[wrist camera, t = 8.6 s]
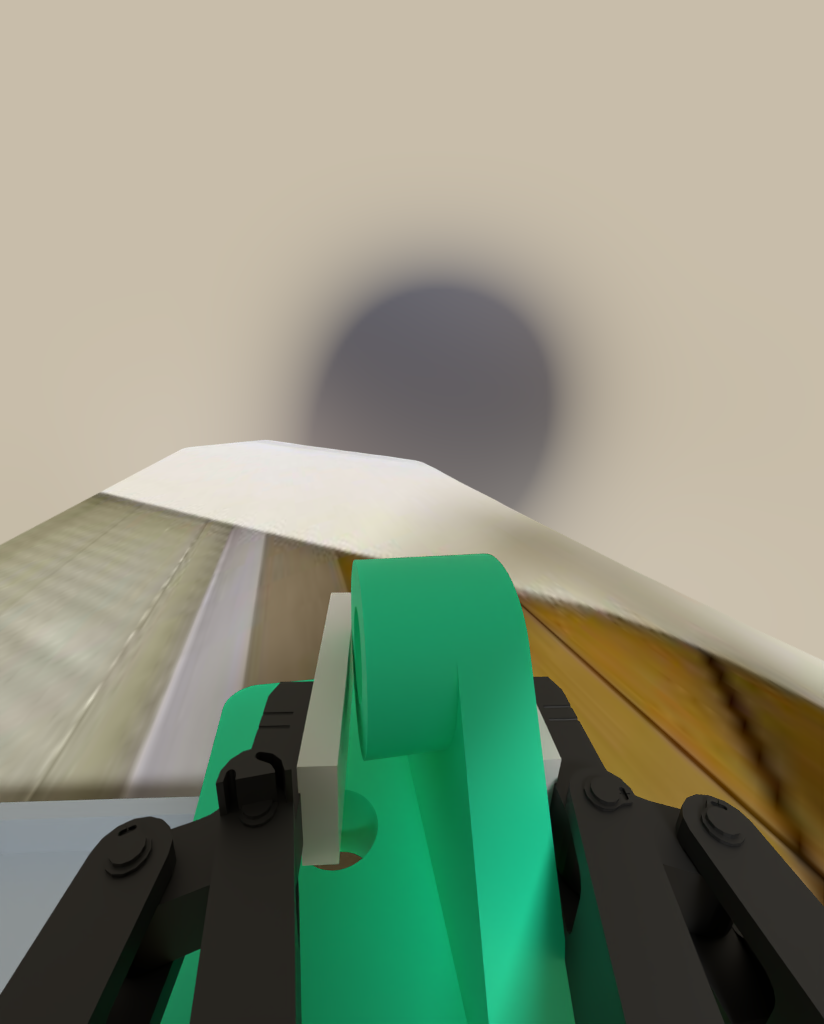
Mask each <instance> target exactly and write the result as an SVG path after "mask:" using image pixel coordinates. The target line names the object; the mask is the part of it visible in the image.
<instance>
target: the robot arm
mask: <svg viewBox="0 0 824 1024" xmlns="http://www.w3.org/2000/svg"><path fill="white" fill-rule="evenodd" d="M353 678H354V674H353V655H352V627H351V593H331V597H330V602H329V607H328V612H327V617H326V622H325V627H324V632H323V637H322V642H321V647H320V652H319V658H318V663H317V668H316V673H315V678H314V681H303V682H280V683H279V685H278V686H277V687H276V688H275V689H274V690H273V691H272V692H271V694H270V695H269V696H268V699H267V702H266V705H265V708H264V711H263V716H262V717H261V720H260V723H259V729H258V730H257V733H256V736H255V739H254V742H253V745H252V748H251V749H249V750H246V751H243V752H241V753H240V754H238V755H237V756H235V757H233V758H232V759H230V760H229V762H228V763H227V764H226V765H225V766H224V767H223V768H222V770H221V771H220V773H219V776H218V778H217V781H216V790H217V797H218V804H219V809H218V810H216V811H215V812H213V813H212V814H210V815H208V816H206V817H203V818H201V819H199V820H196V821H193V822H190V823H187V824H184V825H181V826H178V827H175V828H172V829H171V828H170V826H169V825H168V824H167V823H166V822H165V821H164V820H163V819H160V818H156V817H152V816H148V817H141V818H135V819H133V820H130V821H128V822H126V823H124V824H122V825H119V826H118V827H116V828H115V829H114V830H112V831H111V832H110V833H108V834H107V835H106V836H104V837H103V838H102V839H101V840H100V842H99V843H98V844H97V845H96V846H95V848H94V849H93V850H92V851H91V852H90V854H89V855H88V857H87V859H86V860H85V862H84V863H83V865H82V866H81V868H80V870H79V871H78V873H77V874H76V876H75V877H74V879H73V881H72V882H71V884H70V885H69V887H68V888H67V890H66V892H65V893H64V895H63V896H62V898H61V899H60V901H59V903H58V904H57V906H56V907H55V909H54V910H53V912H52V914H51V915H50V917H49V918H48V920H47V922H46V923H45V925H44V926H43V928H42V929H41V931H40V933H39V934H38V936H37V937H36V939H35V940H34V942H33V944H32V945H31V947H30V948H29V950H28V951H27V953H26V955H25V956H24V958H23V959H22V961H21V962H20V964H19V966H18V967H17V969H16V970H15V972H14V973H13V975H12V977H11V978H10V980H9V981H8V983H7V984H6V986H5V988H4V989H3V991H2V992H1V994H0V1024H160V1023H161V1020H162V1017H163V1015H164V1012H165V1009H166V1006H167V1004H168V1001H169V998H170V995H171V993H172V990H173V987H174V985H175V982H176V979H177V976H178V974H179V971H180V968H181V966H182V963H183V960H184V957H185V955H187V954H190V953H192V952H194V951H196V950H199V949H200V956H199V963H198V969H197V976H196V983H195V990H194V997H193V1003H192V1010H191V1017H190V1024H302V1015H301V962H300V910H299V881H298V876H299V869H300V863H301V856H302V866H309V865H330V864H339V858H340V846H341V833H342V820H343V807H344V794H345V781H346V768H347V756H348V743H349V730H350V717H351V704H352V691H353ZM533 680H534V688H535V696H536V705H537V713H538V721H539V729H540V738H541V746H542V754H543V762H544V770H545V779H546V787H547V795H548V803H549V811H550V820H551V828H552V836H553V844H554V853H555V861H556V869H557V877H558V885H559V894H560V902H561V910H562V918H563V926H564V935H565V964H566V971H567V977H568V983H569V989H570V995H571V1001H572V1007H573V1013H574V1019H575V1024H824V906H823V905H822V904H821V903H820V902H819V901H818V899H817V898H816V897H815V896H814V895H813V894H812V892H811V891H810V890H809V889H808V888H807V887H806V885H805V884H804V883H803V882H802V881H801V880H800V878H799V877H798V876H797V875H796V874H795V873H794V871H793V870H792V869H791V868H790V867H789V865H788V864H787V863H786V862H785V861H784V860H783V858H782V857H781V856H780V855H779V854H778V853H777V851H776V850H775V849H774V848H773V847H772V846H771V844H770V843H769V842H768V841H767V840H766V839H765V837H764V836H763V835H762V834H761V833H760V832H759V830H758V829H757V828H756V827H755V826H754V824H753V823H752V822H751V821H750V820H749V819H747V818H746V817H745V816H744V815H743V814H742V813H741V812H740V811H739V810H737V809H736V808H734V807H733V806H731V805H729V804H728V803H726V802H725V801H722V800H720V799H717V798H714V797H712V796H709V795H698V794H696V795H693V796H690V797H688V798H686V800H685V802H684V803H683V805H682V807H681V809H678V808H674V807H670V806H666V805H663V804H659V803H655V802H651V801H648V800H645V799H642V798H640V797H637V796H635V795H634V793H633V792H632V790H631V788H630V787H629V786H628V785H626V784H625V783H624V782H623V781H622V780H621V779H620V778H619V777H617V776H615V775H613V774H612V773H610V772H608V771H607V770H606V769H605V767H604V766H603V764H602V762H601V760H600V758H599V756H598V755H597V753H596V751H595V749H594V747H593V745H592V744H591V742H590V740H589V738H588V736H587V734H586V733H585V731H584V729H583V727H582V725H581V724H580V722H579V721H578V720H577V716H576V714H575V713H574V711H573V709H572V708H571V707H570V703H569V702H568V700H567V698H566V696H565V694H564V693H563V691H562V689H561V688H559V687H558V686H557V685H556V684H555V683H554V682H553V681H552V680H551V679H549V678H548V677H533Z"/></svg>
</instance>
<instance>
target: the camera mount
mask: <svg viewBox="0 0 824 1024" xmlns="http://www.w3.org/2000/svg"><path fill="white" fill-rule="evenodd" d="M351 627H352V655H353V674H354V678H353V691H352V704H351V717H350V730H349V743H348V756H347V768H346V781H345V794H344V807H343V820H342V833H341V846H340V852H350V853H354V854H356V855H358V856H360V857H362V859H361V860H360V861H359V862H357V863H356V864H354V865H352V866H350V867H348V868H345V869H341V870H335V871H329V870H323V869H319V868H316V867H314V865H309V866H302V856H301V863H300V869H299V876H298V881H299V910H300V962H301V1015H302V1024H575V1019H574V1013H573V1007H572V1001H571V995H570V989H569V983H568V977H567V971H566V964H565V935H564V926H563V918H562V910H561V902H560V894H559V885H558V877H557V869H556V861H555V853H554V844H553V836H552V828H551V820H550V811H549V803H548V795H547V787H546V779H545V770H544V762H543V754H542V746H541V738H540V729H539V721H538V713H537V705H536V696H535V688H534V680H533V672H532V664H531V655H530V647H529V640H528V634H527V629H526V624H525V619H524V615H523V611H522V608H521V605H520V601H519V598H518V595H517V593H516V590H515V587H514V585H513V583H512V581H511V579H510V577H509V575H508V573H507V571H506V570H505V568H504V567H503V565H502V564H501V563H500V562H499V561H498V560H497V559H496V558H495V557H494V556H492V555H490V554H467V555H447V556H426V557H406V558H385V559H365V560H354V561H353V566H352V579H351ZM303 681H314V679H312V680H302V681H292V682H303ZM278 685H279V683H272V684H262V685H254V686H250V687H247V688H244V689H242V690H240V691H238V692H237V693H235V694H234V695H232V696H231V697H230V698H229V699H228V700H227V702H226V703H225V705H224V707H223V710H222V714H221V718H220V721H219V725H218V729H217V733H216V736H215V740H214V744H213V748H212V752H211V755H210V759H209V763H208V767H207V770H206V774H205V778H204V782H203V785H202V789H201V793H200V797H199V800H198V804H197V808H196V812H195V816H194V819H193V821H196V820H199V819H201V818H203V817H206V816H208V815H210V814H212V813H213V812H215V811H216V810H218V809H219V804H218V797H217V790H216V781H217V778H218V776H219V773H220V771H221V770H222V768H223V767H224V766H225V765H226V764H227V763H228V762H229V760H230V759H232V758H233V757H235V756H237V755H238V754H240V753H241V752H243V751H246V750H249V749H251V748H252V745H253V742H254V739H255V736H256V733H257V730H258V729H259V723H260V720H261V717H262V716H263V711H264V708H265V705H266V702H267V699H268V696H269V695H270V694H271V692H272V691H273V690H274V689H275V688H276V687H277V686H278ZM199 956H200V949H199V950H196V951H194V952H192V953H190V954H187V955H185V957H184V960H183V963H182V966H181V968H180V971H179V974H178V976H177V979H176V982H175V985H174V987H173V990H172V993H171V995H170V998H169V1001H168V1004H167V1006H166V1009H165V1012H164V1015H163V1017H162V1020H161V1023H160V1024H190V1017H191V1010H192V1003H193V997H194V990H195V983H196V976H197V969H198V963H199Z"/></svg>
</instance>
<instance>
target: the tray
mask: <svg viewBox="0 0 824 1024" xmlns="http://www.w3.org/2000/svg"><path fill="white" fill-rule="evenodd" d="M199 797H200V796H195V797H163V798H131V799H98V800H66V801H34V802H1V803H0V994H1V992H2V991H3V989H4V988H5V986H6V984H7V983H8V981H9V980H10V978H11V977H12V975H13V973H14V972H15V970H16V969H17V967H18V966H19V964H20V962H21V961H22V959H23V958H24V956H25V955H26V953H27V951H28V950H29V948H30V947H31V945H32V944H33V942H34V940H35V939H36V937H37V936H38V934H39V933H40V931H41V929H42V928H43V926H44V925H45V923H46V922H47V920H48V918H49V917H50V915H51V914H52V912H53V910H54V909H55V907H56V906H57V904H58V903H59V901H60V899H61V898H62V896H63V895H64V893H65V892H66V890H67V888H68V887H69V885H70V884H71V882H72V881H73V879H74V877H75V876H76V874H77V873H78V871H79V870H80V868H81V866H82V865H83V863H84V862H85V860H86V859H87V857H88V855H89V854H90V852H91V851H92V850H93V849H94V848H95V846H96V845H97V844H98V843H99V842H100V840H101V839H102V838H103V837H104V836H106V835H107V834H108V833H110V832H111V831H112V830H114V829H115V828H116V827H118V826H119V825H122V824H124V823H126V822H128V821H130V820H133V819H135V818H141V817H148V816H152V817H156V818H160V819H163V820H164V821H165V822H166V823H167V824H168V825H169V826H170V828H171V829H172V828H175V827H178V826H181V825H184V824H187V823H190V822H193V819H194V816H195V812H196V808H197V804H198V800H199Z"/></svg>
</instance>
